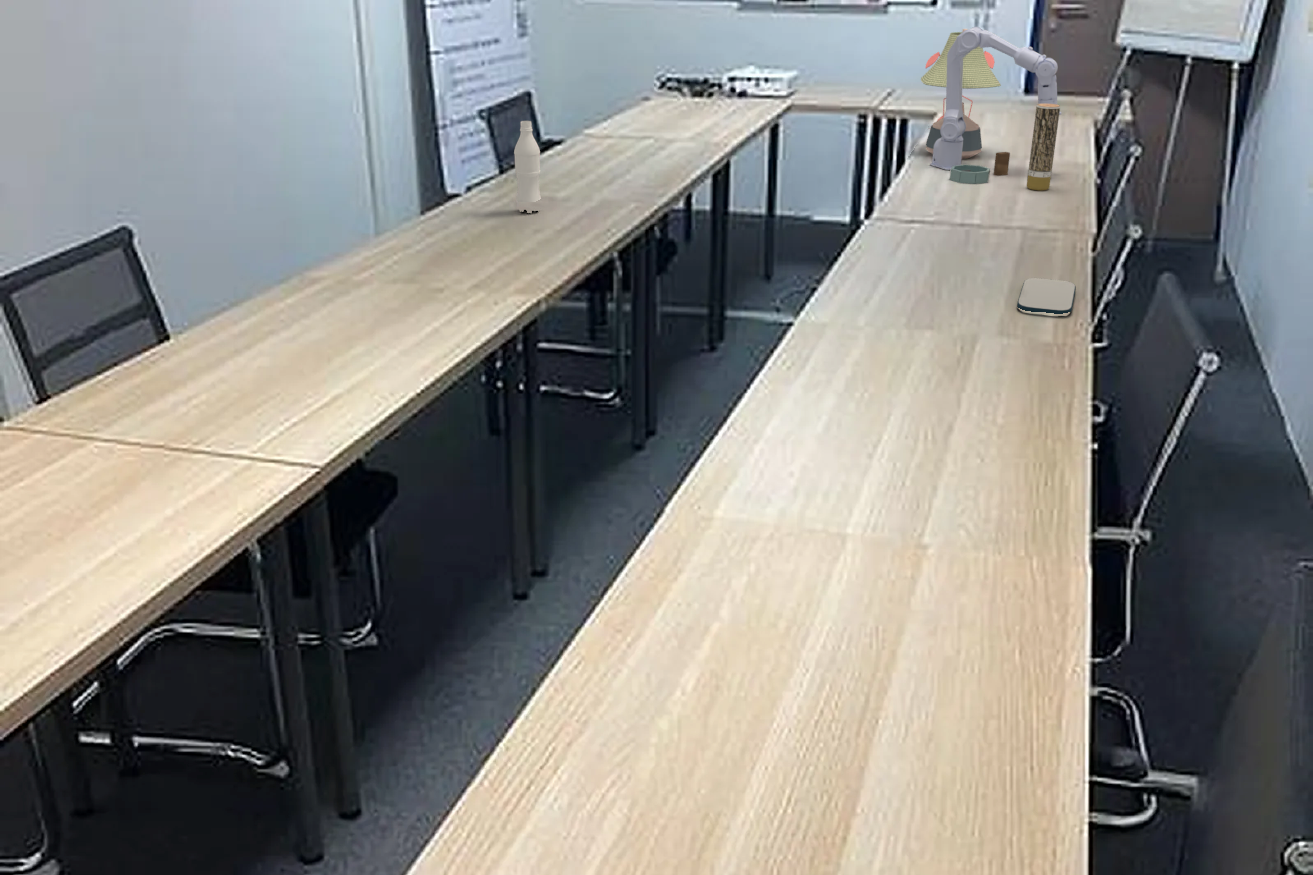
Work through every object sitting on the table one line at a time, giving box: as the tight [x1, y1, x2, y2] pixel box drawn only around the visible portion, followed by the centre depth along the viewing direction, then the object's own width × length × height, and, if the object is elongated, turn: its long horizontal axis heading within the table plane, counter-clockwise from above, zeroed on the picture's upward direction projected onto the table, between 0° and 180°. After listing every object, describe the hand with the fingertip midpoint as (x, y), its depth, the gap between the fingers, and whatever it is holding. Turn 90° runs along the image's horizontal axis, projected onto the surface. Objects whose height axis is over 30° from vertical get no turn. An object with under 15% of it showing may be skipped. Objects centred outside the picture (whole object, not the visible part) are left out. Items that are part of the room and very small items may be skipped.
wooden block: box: [993, 151, 1011, 177], centre depth 398 cm, size 2×4×7 cm, turn 115°
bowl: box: [949, 164, 991, 185], centre depth 391 cm, size 12×12×4 cm
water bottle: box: [513, 120, 542, 202], centre depth 346 cm, size 7×7×25 cm
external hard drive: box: [1016, 277, 1077, 314], centre depth 277 cm, size 24×12×2 cm, turn 160°
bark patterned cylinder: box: [1026, 103, 1061, 192], centre depth 376 cm, size 7×7×25 cm
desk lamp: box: [920, 28, 1002, 160], centre depth 419 cm, size 26×28×42 cm
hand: (1048, 142), depth 393 cm, fingers open, 7 cm apart
